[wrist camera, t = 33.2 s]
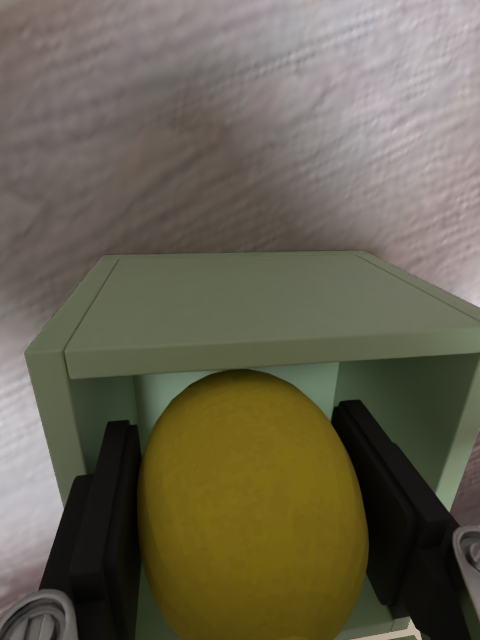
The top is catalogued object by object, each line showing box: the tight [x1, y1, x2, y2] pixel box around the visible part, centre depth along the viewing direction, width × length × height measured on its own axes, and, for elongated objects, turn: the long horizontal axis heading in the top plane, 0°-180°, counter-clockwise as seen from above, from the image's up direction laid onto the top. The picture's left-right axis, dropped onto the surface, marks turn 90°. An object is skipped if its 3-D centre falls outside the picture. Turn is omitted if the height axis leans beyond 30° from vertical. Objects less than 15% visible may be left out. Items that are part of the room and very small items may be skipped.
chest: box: [24, 250, 480, 640], centre depth 15 cm, size 14×12×9 cm
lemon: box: [137, 369, 369, 640], centre depth 9 cm, size 6×6×8 cm
